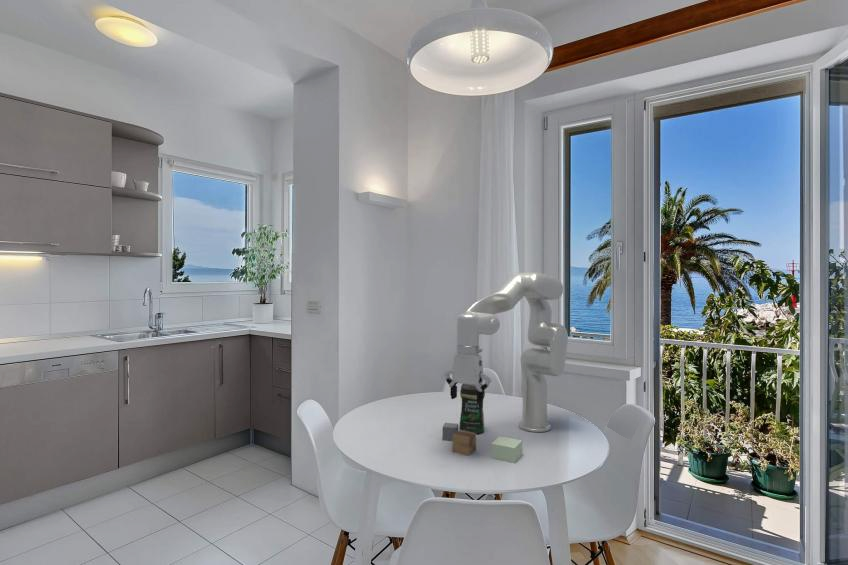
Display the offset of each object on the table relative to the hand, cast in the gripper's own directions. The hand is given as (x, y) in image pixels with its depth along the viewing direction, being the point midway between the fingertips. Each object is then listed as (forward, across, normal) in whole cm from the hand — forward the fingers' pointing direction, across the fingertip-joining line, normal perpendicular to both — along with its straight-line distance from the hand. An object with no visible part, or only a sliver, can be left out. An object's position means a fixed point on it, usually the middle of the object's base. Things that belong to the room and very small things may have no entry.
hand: (466, 400), depth 152 cm
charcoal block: (+18, +11, -10) cm, 23 cm away
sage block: (+18, -13, -5) cm, 23 cm away
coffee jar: (+18, +8, -22) cm, 29 cm away
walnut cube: (+18, +1, -2) cm, 18 cm away
